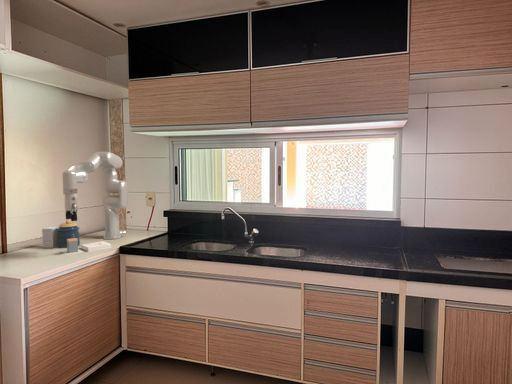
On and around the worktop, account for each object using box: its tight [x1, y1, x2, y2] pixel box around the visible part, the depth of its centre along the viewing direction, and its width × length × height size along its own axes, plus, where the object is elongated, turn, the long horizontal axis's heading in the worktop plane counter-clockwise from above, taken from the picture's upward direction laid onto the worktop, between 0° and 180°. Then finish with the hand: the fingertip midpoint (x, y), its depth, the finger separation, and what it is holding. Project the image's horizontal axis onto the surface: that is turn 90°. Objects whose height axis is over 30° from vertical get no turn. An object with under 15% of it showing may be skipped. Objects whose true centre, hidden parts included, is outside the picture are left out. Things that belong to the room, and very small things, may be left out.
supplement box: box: [41, 226, 59, 249], centre depth 226 cm, size 7×7×13 cm
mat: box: [61, 248, 84, 256], centre depth 209 cm, size 10×10×1 cm
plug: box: [66, 238, 79, 253], centre depth 209 cm, size 5×4×8 cm
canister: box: [57, 219, 81, 249], centre depth 226 cm, size 13×13×18 cm
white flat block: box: [80, 240, 112, 252], centre depth 219 cm, size 14×12×3 cm
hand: (71, 220), depth 208 cm, fingers open, 9 cm apart
